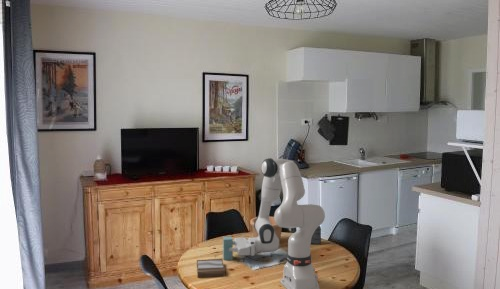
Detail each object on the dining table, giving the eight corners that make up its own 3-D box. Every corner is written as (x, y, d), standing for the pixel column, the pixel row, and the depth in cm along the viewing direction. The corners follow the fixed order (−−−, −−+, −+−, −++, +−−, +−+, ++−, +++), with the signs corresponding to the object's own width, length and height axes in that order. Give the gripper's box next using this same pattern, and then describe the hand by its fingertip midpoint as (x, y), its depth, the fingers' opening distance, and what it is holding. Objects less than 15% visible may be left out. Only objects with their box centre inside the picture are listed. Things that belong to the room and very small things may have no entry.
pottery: (249, 248, 251) (249, 225, 250) (250, 236, 273) (250, 215, 272) (284, 248, 250) (284, 225, 249) (282, 237, 272) (283, 216, 271)
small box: (320, 241, 264) (320, 225, 263) (321, 244, 258) (321, 228, 257) (304, 240, 265) (304, 225, 264) (304, 244, 259) (304, 228, 258)
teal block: (232, 259, 232) (232, 239, 230) (223, 260, 231) (223, 239, 230) (231, 256, 237) (231, 236, 235) (223, 256, 236) (223, 236, 235)
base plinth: (224, 275, 209) (224, 269, 209) (197, 277, 207) (197, 271, 207) (222, 263, 225) (222, 258, 225) (196, 265, 223) (196, 259, 223)
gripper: (248, 234, 245) (226, 235, 243) (254, 245, 225) (229, 247, 223) (248, 244, 246) (226, 245, 244) (254, 256, 226) (229, 258, 224)
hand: (227, 246), depth 233 cm, fingers open, 8 cm apart
